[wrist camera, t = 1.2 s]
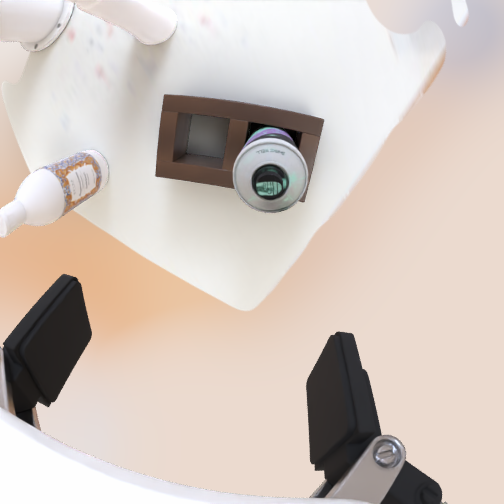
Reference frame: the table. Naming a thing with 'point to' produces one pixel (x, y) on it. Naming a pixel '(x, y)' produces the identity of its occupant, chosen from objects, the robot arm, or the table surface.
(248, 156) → the spray can
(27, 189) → the bath foam
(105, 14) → the cosmetic bottle
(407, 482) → the robot arm
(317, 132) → the rack
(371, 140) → the table surface
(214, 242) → the table surface
